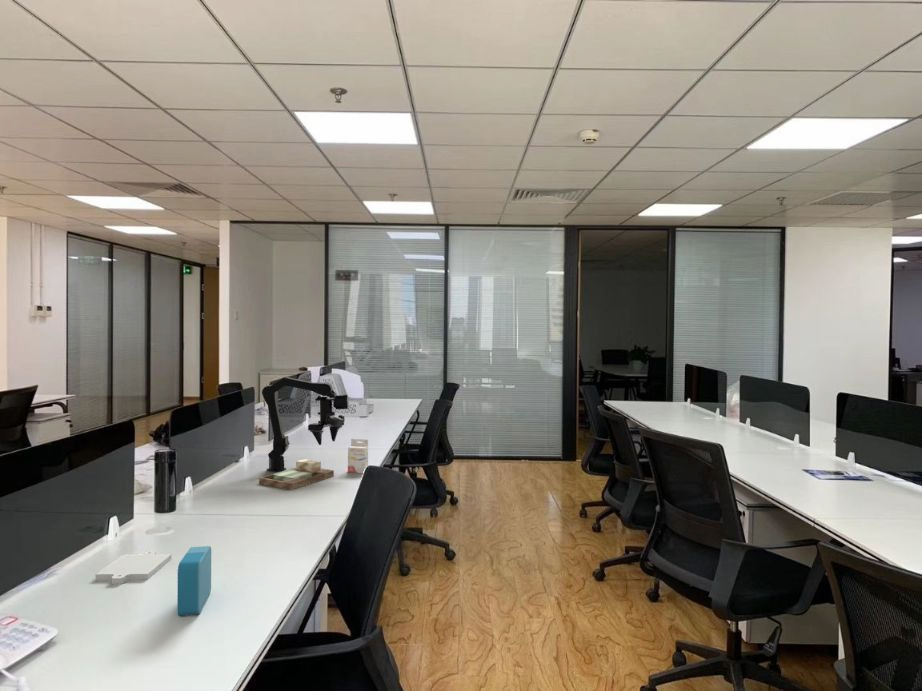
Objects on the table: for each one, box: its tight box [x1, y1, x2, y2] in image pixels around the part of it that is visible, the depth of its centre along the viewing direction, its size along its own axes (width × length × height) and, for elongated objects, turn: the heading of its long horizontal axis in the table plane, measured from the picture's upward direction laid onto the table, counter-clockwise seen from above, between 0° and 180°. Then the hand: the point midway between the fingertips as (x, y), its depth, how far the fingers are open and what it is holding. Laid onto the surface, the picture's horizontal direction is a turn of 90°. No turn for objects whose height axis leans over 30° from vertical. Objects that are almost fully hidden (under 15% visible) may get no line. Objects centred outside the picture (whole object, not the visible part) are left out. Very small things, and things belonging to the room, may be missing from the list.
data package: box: [176, 545, 212, 616], centre depth 130 cm, size 12×4×12 cm, turn 12°
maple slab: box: [295, 458, 322, 472], centre depth 252 cm, size 10×5×4 cm, turn 62°
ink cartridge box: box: [347, 438, 369, 474], centre depth 258 cm, size 9×5×15 cm, turn 84°
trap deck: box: [258, 467, 335, 491], centre depth 243 cm, size 18×26×2 cm
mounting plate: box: [95, 550, 172, 585], centre depth 149 cm, size 18×13×2 cm
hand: (326, 443), depth 262 cm, fingers open, 9 cm apart
